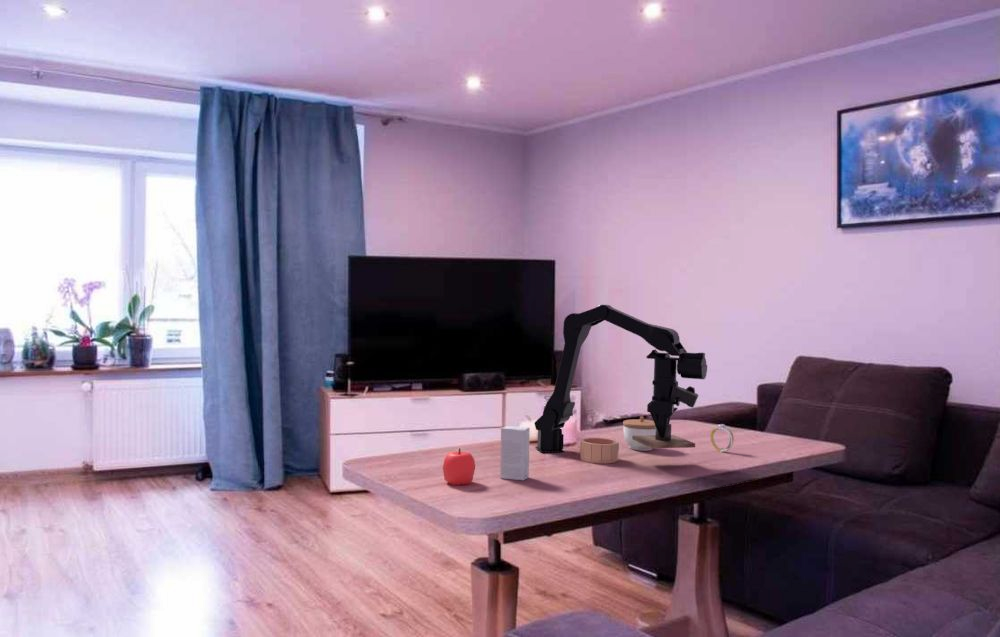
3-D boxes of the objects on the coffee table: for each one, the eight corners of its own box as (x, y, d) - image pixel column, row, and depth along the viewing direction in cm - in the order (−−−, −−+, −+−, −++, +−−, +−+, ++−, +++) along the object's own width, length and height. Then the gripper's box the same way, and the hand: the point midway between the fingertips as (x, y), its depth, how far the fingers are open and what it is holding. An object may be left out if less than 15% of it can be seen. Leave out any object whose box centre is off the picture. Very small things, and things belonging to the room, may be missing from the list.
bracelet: (708, 450, 216) (709, 422, 216) (715, 449, 218) (716, 422, 218) (727, 454, 211) (728, 426, 210) (735, 453, 212) (736, 425, 212)
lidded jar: (663, 452, 211) (664, 420, 210) (625, 451, 211) (626, 419, 211) (655, 445, 221) (656, 414, 221) (620, 444, 221) (620, 413, 221)
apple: (448, 488, 165) (449, 452, 165) (436, 480, 172) (437, 445, 172) (481, 485, 168) (482, 450, 168) (468, 477, 175) (469, 444, 175)
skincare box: (529, 477, 177) (530, 427, 177) (523, 481, 173) (525, 430, 173) (505, 474, 179) (506, 425, 179) (499, 478, 175) (500, 428, 175)
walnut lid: (651, 448, 186) (652, 428, 186) (632, 439, 198) (632, 420, 198) (695, 447, 189) (695, 427, 189) (673, 438, 201) (673, 420, 201)
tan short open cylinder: (588, 464, 193) (588, 445, 193) (575, 456, 203) (575, 437, 203) (623, 463, 196) (624, 444, 195) (609, 455, 205) (610, 437, 205)
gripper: (693, 381, 182) (691, 445, 182) (699, 375, 199) (697, 433, 200) (647, 379, 185) (645, 441, 186) (657, 373, 203) (656, 429, 203)
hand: (663, 436), depth 193 cm, fingers closed on walnut lid, 4 cm apart
